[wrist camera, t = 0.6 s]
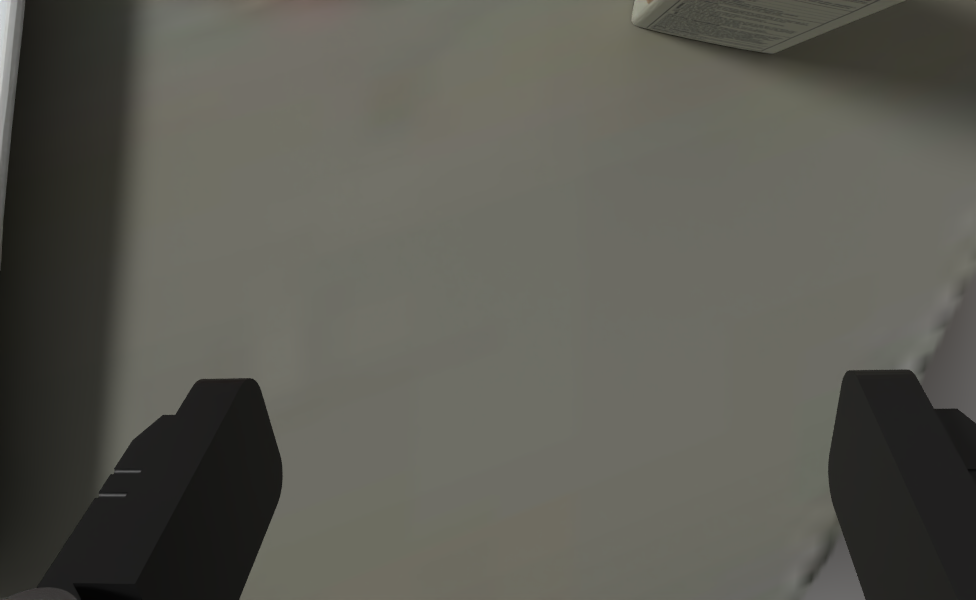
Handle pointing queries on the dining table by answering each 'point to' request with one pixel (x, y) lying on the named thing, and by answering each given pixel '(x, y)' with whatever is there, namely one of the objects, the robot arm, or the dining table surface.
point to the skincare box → (752, 19)
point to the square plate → (8, 85)
